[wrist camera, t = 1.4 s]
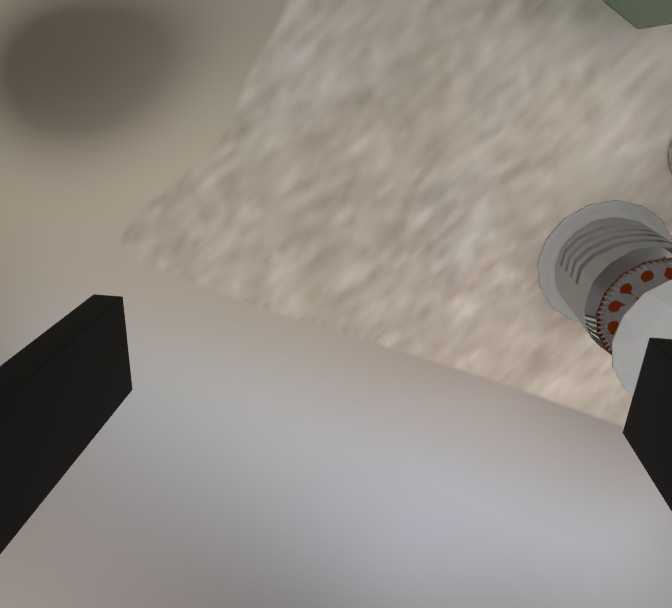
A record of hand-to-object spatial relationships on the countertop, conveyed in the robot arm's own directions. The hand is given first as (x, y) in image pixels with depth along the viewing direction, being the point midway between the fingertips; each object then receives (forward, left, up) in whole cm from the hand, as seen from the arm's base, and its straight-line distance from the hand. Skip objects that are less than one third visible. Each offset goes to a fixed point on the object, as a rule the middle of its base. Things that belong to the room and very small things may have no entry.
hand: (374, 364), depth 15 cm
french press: (+17, +7, -31) cm, 36 cm away
